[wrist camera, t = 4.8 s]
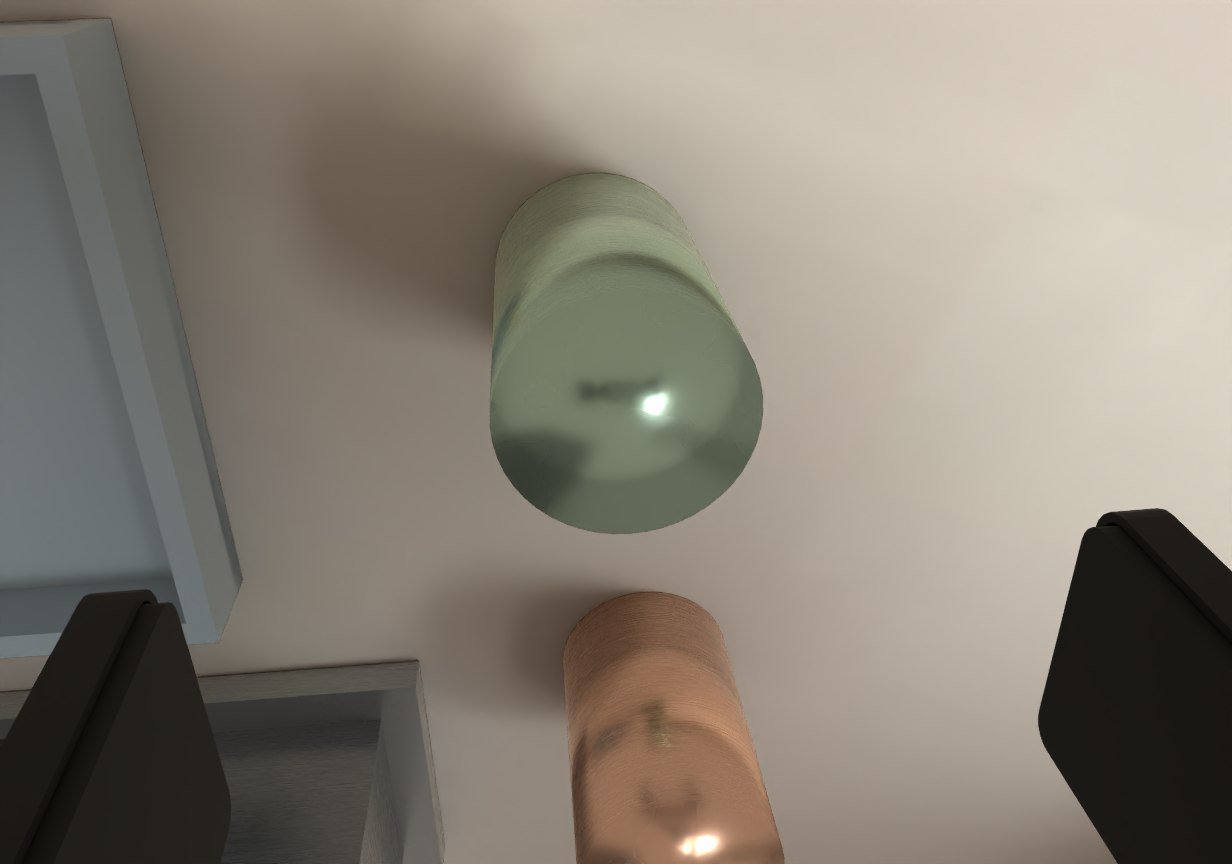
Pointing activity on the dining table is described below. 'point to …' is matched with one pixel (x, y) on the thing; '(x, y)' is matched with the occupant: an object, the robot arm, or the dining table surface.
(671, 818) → the terracotta part
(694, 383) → the green part
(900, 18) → the dining table surface
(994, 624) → the dining table surface
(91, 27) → the tray
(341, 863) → the mounted unit
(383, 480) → the dining table surface
